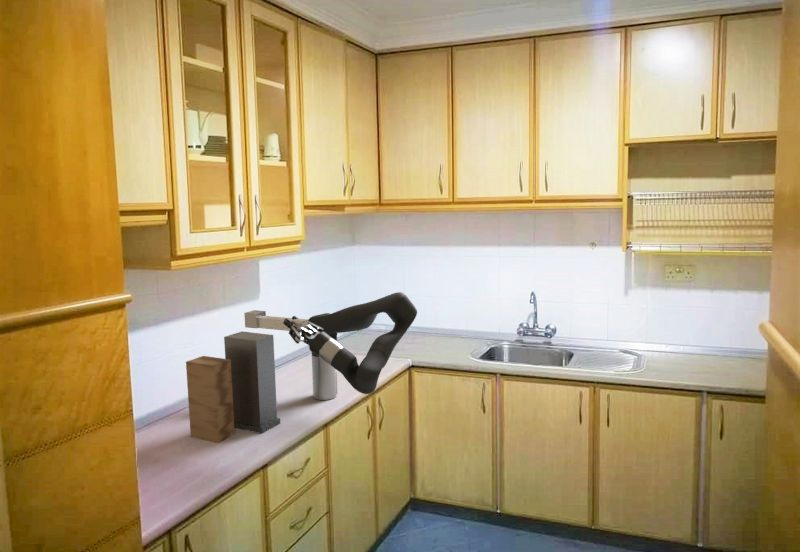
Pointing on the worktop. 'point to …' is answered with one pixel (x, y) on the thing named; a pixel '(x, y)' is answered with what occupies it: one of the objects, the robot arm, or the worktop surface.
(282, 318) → the lever
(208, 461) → the worktop surface
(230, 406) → the block
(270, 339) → the tall dark grey pillar
